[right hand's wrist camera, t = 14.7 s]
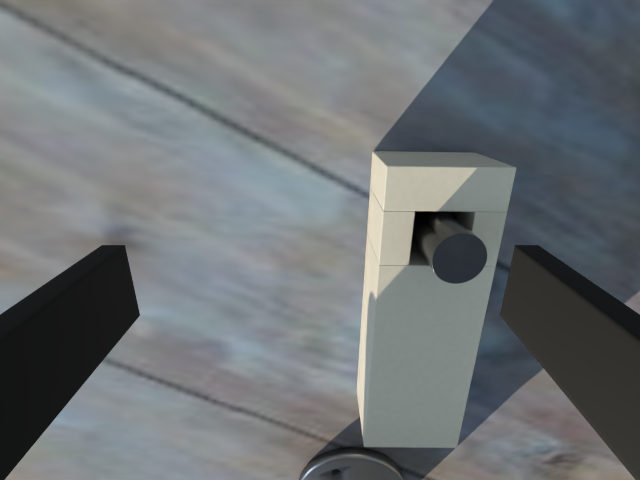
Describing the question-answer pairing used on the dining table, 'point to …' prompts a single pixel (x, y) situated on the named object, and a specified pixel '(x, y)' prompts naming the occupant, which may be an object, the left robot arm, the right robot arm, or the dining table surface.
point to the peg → (448, 246)
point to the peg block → (424, 296)
